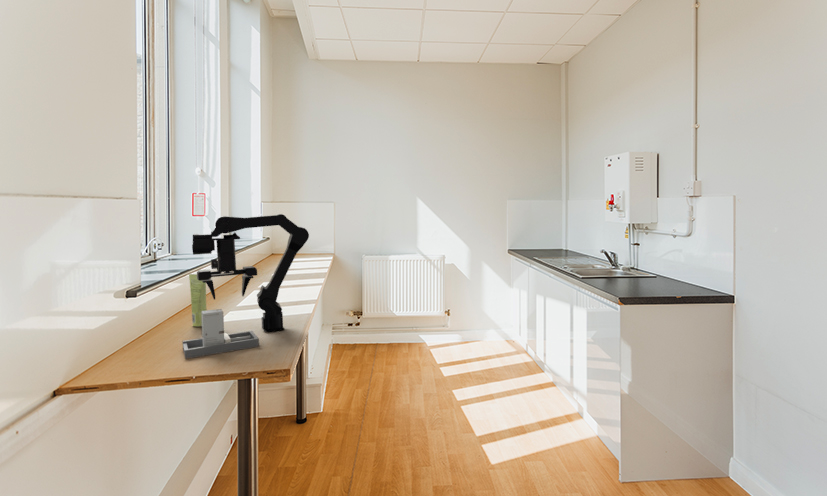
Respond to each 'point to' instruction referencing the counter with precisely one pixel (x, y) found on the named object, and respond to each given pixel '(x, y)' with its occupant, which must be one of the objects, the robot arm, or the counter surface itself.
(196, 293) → the tube
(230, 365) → the counter surface
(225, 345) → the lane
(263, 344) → the counter surface
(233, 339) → the pusher
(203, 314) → the skincare box
